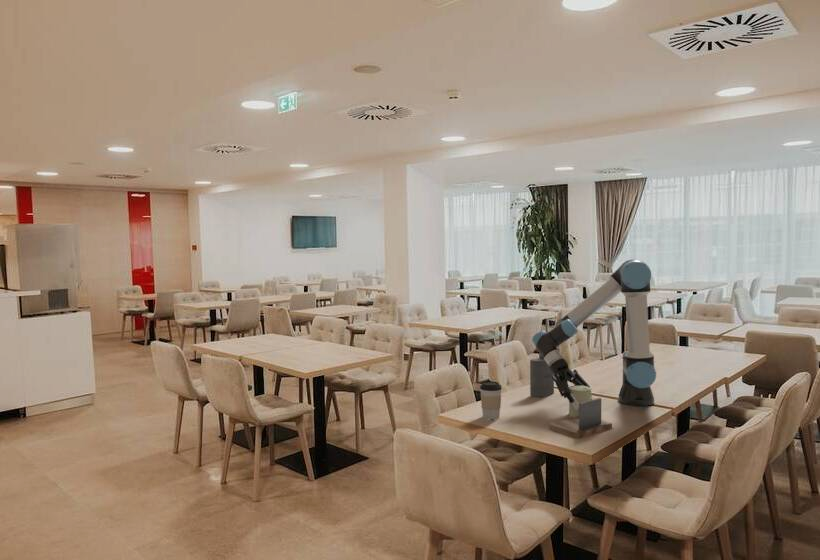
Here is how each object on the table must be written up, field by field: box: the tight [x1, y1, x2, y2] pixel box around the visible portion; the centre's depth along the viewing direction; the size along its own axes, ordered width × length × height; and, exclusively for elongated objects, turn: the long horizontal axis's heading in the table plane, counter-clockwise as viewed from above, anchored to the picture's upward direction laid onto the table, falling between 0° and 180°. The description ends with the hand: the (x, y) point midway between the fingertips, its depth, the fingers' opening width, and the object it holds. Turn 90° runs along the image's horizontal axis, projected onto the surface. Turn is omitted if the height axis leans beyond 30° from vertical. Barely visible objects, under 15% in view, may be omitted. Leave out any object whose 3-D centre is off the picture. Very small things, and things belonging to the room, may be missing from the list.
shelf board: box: [549, 416, 613, 439], centre depth 226 cm, size 20×14×2 cm
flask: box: [529, 353, 555, 399], centre depth 276 cm, size 15×6×20 cm, turn 130°
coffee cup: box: [479, 380, 503, 420], centre depth 242 cm, size 9×9×15 cm
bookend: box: [579, 397, 606, 431], centre depth 221 cm, size 12×3×10 cm, turn 124°
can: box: [568, 385, 592, 418], centre depth 243 cm, size 9×9×12 cm
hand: (586, 406), depth 241 cm, fingers closed on can, 9 cm apart
